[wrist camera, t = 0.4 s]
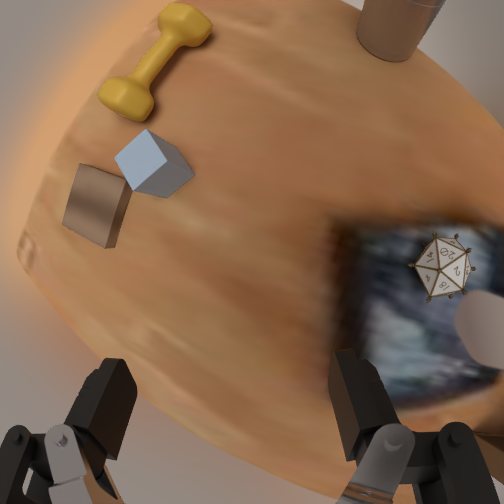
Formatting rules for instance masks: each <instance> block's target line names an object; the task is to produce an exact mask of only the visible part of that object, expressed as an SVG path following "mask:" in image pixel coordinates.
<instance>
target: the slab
mask: <svg viewBox="0 0 504 504" xmlns="http://www.w3.org/2000/svg"><path fill="white" fill-rule="evenodd" d="M132 191H133V190H132V188H131V187H130V185H129V183H128V181H127V180H126V179H125V178H122V177H119V176H117V175H114V174H111V173H109V172H106V171H103V170H100V169H97V168H95V167H92V166H89V165H85V164H81V163H80V164H79V167H78V170H77V173H76V176H75V179H74V182H73V185H72V188H71V192H70V195H69V199H68V202H67V206H66V210H65V213H64V217H63V221H62V225H63V226H65V227H67V228H68V229H70V230H72V231H74V232H75V233H77V234H79V235H81V236H83V237H84V238H86V239H88V240H90V241H92V242H94V243H95V244H97V245H99V246H101V247H103V248H105V249H106V248H114V247H115V245H116V242H117V238H118V235H119V231H120V228H121V225H122V221H123V218H124V215H125V212H126V209H127V206H128V203H129V200H130V197H131V194H132Z"/></svg>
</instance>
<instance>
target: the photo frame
mask: <svg viewBox="0 0 504 504" xmlns="http://www.w3.org/2000/svg"><path fill="white" fill-rule="evenodd" d="M473 434H474V436H475V438H476V441H477V443H478V445H479V448H480V450H481V452H482V455H483V457H484V460H485V462H486V465H487V467H488V470H489V472H490V475H491V476H492V477H494V478H495V479H497V480H498V481H499V482H501V483H502V484H503V485H504V434H488V433H475V432H473Z"/></svg>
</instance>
